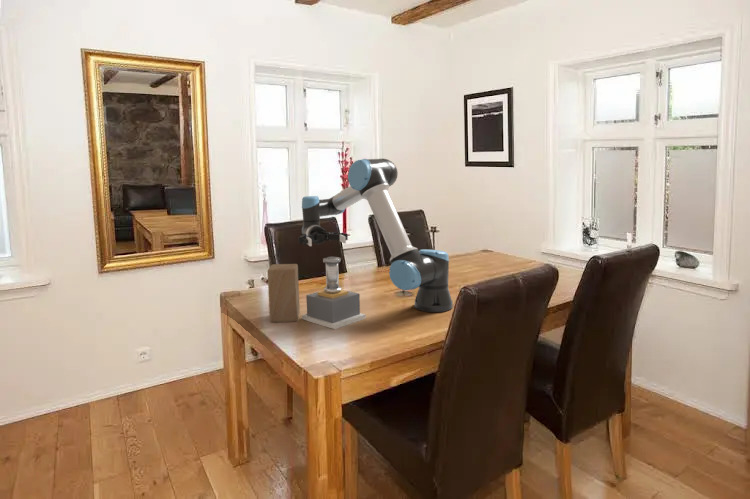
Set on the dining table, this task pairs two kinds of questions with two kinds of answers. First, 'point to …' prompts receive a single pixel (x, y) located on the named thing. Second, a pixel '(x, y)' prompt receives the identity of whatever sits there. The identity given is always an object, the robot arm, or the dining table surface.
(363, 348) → the dining table surface
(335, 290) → the steel pin
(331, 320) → the pin housing
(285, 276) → the wooden block
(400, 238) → the robot arm
